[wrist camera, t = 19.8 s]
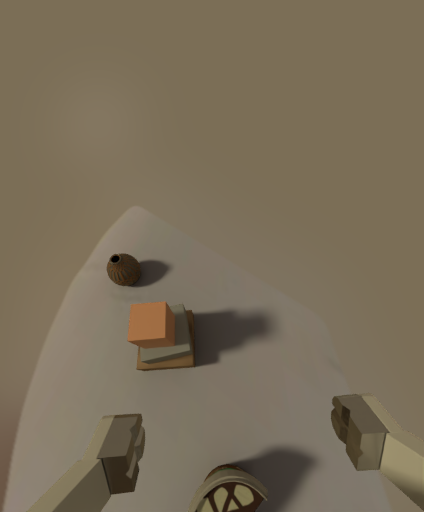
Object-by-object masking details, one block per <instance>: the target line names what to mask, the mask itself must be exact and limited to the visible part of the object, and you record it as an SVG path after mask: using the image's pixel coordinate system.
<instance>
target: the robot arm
mask: <svg viewBox="0 0 424 512" xmlns="http://www.w3.org/2000/svg"><path fill="white" fill-rule="evenodd" d="M332 404H333V406H334V407H335V408H334V409H333V410H332V411H331V421H332V425H333V428H334V431H335V433H336V435H337V437H338V438H339V439H340V440H341V441H342V442H343V443H345V444H346V453H347V454H348V456H349V458H350V460H351V462H352V463H353V465H354V467H355V469H356V470H357V471H363V470H380V472H381V473H382V474H383V475H385V476H386V477H387V478H388V479H389V480H390V481H391V482H392V483H393V484H395V485H396V486H397V487H398V488H399V489H400V490H401V491H402V492H403V493H404V494H406V495H407V496H408V497H409V498H410V499H411V500H412V501H413V502H414V503H415V504H417V505H418V506H419V507H420V508H421V509H422V510H423V511H424V441H423V440H422V439H420V438H418V437H417V436H415V435H413V434H412V433H410V432H409V431H403V429H402V428H401V427H400V426H399V425H398V424H397V423H396V421H395V420H394V419H393V418H392V417H391V415H390V414H389V413H388V412H387V411H386V410H385V408H384V407H383V406H382V405H381V404H380V403H379V402H378V400H377V399H376V398H375V397H374V396H373V395H372V394H370V393H366V394H352V395H342V396H334V397H333V399H332ZM142 420H143V419H142V415H141V414H124V415H110V416H104V417H103V418H102V419H101V420H100V422H99V425H98V427H97V429H96V431H95V433H94V435H93V438H92V440H91V442H90V444H89V446H88V448H87V451H86V453H85V455H84V457H83V459H82V460H81V461H77V462H76V463H75V464H74V465H73V466H72V467H71V468H70V469H69V470H68V471H67V472H66V473H65V474H64V475H63V476H62V477H61V478H60V479H59V480H58V481H57V482H56V483H55V484H54V485H53V486H52V487H51V488H50V489H49V490H48V491H47V492H46V493H45V494H44V495H43V496H42V497H41V498H40V499H39V500H38V501H37V502H36V503H35V504H34V505H33V506H32V507H31V508H30V509H29V510H28V511H27V512H101V510H102V509H103V507H104V506H105V504H106V503H107V501H108V500H109V498H110V497H111V495H112V494H120V493H128V492H134V490H135V486H136V482H137V478H138V473H139V466H138V462H139V460H140V459H141V458H142V456H143V452H144V446H145V430H144V428H143V427H142V426H141V424H142Z"/></svg>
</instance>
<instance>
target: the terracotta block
mask: <svg viewBox="0 0 424 512" xmlns="http://www.w3.org/2000/svg"><path fill="white" fill-rule="evenodd" d="M128 342H131V343H133V344H135V345H137V346H139V347H142V348H144V349H148V348H159V347H171V346H175V315H174V314H173V312H172V311H171V309H170V307H169V306H168V304H167V303H166V302H155V303H143V304H132V305H131V310H130V321H129V331H128Z"/></svg>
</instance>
